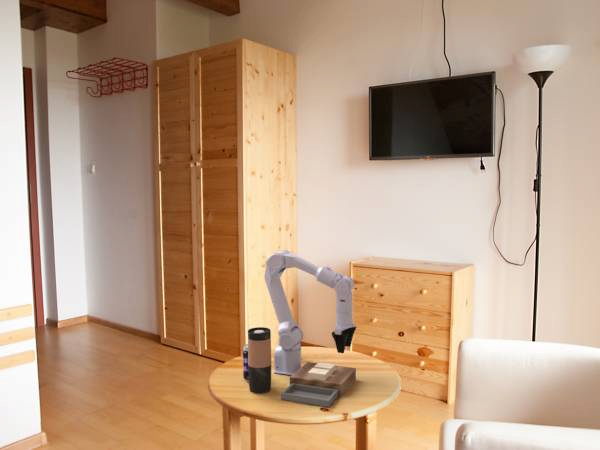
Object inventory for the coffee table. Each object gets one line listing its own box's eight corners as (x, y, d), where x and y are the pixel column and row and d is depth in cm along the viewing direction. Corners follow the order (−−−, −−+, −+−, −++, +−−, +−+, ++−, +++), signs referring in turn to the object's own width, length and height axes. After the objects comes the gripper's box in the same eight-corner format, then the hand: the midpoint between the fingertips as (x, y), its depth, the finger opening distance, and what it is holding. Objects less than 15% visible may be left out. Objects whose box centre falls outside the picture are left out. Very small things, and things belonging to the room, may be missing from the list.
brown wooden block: (289, 388, 170) (289, 377, 169) (307, 372, 184) (307, 361, 184) (341, 396, 163) (341, 384, 162) (355, 379, 177) (355, 368, 177)
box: (280, 400, 161) (280, 393, 161) (292, 389, 169) (292, 383, 169) (328, 407, 155) (328, 400, 154) (338, 396, 163) (338, 389, 163)
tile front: (307, 378, 168) (307, 372, 168) (312, 373, 172) (312, 367, 172) (325, 380, 166) (325, 374, 166) (329, 375, 170) (329, 370, 170)
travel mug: (275, 386, 172) (274, 328, 170) (266, 395, 165) (265, 334, 163) (254, 383, 174) (253, 326, 173) (244, 392, 167) (243, 332, 166)
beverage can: (243, 376, 181) (243, 343, 180) (259, 376, 182) (259, 342, 181) (243, 382, 176) (242, 348, 175) (259, 382, 176) (259, 347, 175)
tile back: (314, 372, 174) (314, 366, 174) (319, 367, 178) (319, 362, 178) (331, 374, 171) (331, 368, 171) (335, 370, 176) (335, 364, 175)
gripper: (349, 317, 169) (348, 357, 170) (361, 307, 183) (361, 344, 184) (329, 315, 172) (329, 354, 173) (342, 305, 185) (342, 342, 186)
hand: (344, 349), depth 179 cm, fingers open, 7 cm apart
